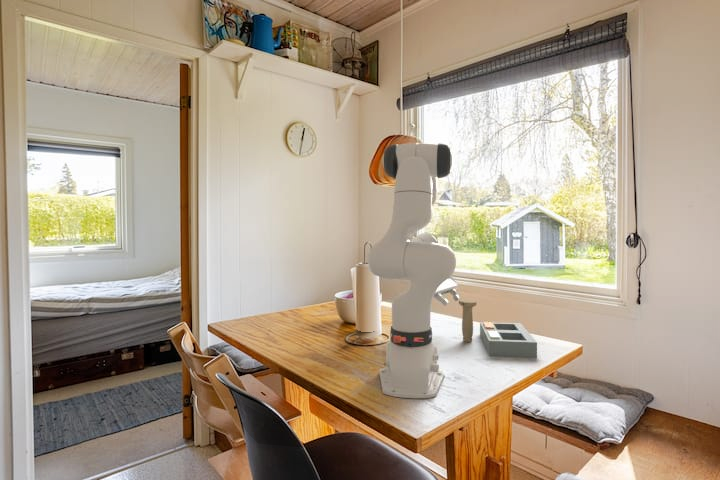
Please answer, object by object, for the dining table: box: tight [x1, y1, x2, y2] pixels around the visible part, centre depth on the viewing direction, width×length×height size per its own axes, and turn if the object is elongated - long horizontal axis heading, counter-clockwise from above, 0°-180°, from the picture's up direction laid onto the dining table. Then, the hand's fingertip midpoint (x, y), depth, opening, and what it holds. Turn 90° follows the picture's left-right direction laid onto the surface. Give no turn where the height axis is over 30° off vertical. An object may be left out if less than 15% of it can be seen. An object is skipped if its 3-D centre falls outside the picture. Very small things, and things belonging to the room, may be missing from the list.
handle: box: [458, 299, 477, 343], centre depth 148 cm, size 5×6×15 cm
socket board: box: [479, 321, 538, 359], centre depth 143 cm, size 24×15×6 cm, turn 170°
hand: (452, 302), depth 151 cm, fingers open, 8 cm apart
